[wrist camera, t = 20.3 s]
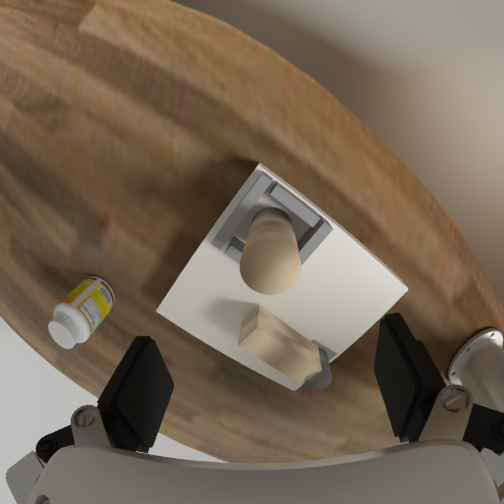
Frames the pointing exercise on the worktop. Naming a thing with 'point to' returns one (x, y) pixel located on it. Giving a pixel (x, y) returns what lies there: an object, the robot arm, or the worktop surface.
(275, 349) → the beige angular block
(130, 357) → the robot arm
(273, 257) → the loose leg
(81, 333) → the supplement bottle
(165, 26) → the worktop surface
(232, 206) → the white board with frame
